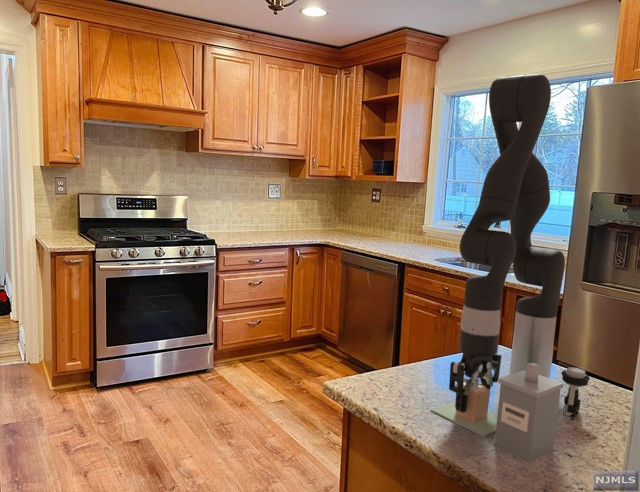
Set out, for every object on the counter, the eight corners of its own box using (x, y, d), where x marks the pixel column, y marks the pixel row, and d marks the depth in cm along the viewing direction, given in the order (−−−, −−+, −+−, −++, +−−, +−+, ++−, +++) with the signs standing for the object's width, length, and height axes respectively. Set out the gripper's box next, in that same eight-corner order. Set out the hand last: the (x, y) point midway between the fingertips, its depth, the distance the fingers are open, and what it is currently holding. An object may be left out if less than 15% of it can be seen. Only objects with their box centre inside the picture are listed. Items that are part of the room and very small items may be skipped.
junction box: (518, 433, 101) (526, 354, 99) (555, 450, 95) (565, 367, 93) (491, 445, 96) (500, 362, 94) (529, 464, 90) (539, 376, 88)
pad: (460, 400, 115) (460, 399, 115) (513, 424, 105) (513, 422, 105) (430, 410, 109) (430, 409, 109) (483, 436, 99) (483, 435, 99)
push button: (580, 426, 106) (586, 378, 105) (552, 417, 109) (558, 372, 108) (586, 415, 111) (592, 370, 110) (559, 407, 114) (565, 363, 113)
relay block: (468, 409, 110) (472, 374, 109) (487, 417, 107) (490, 382, 106) (455, 414, 107) (458, 378, 106) (473, 422, 104) (477, 386, 103)
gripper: (473, 338, 97) (465, 422, 99) (516, 328, 106) (508, 406, 108) (441, 328, 103) (434, 407, 105) (485, 319, 112) (477, 393, 114)
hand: (472, 406), depth 107 cm, fingers open, 7 cm apart
